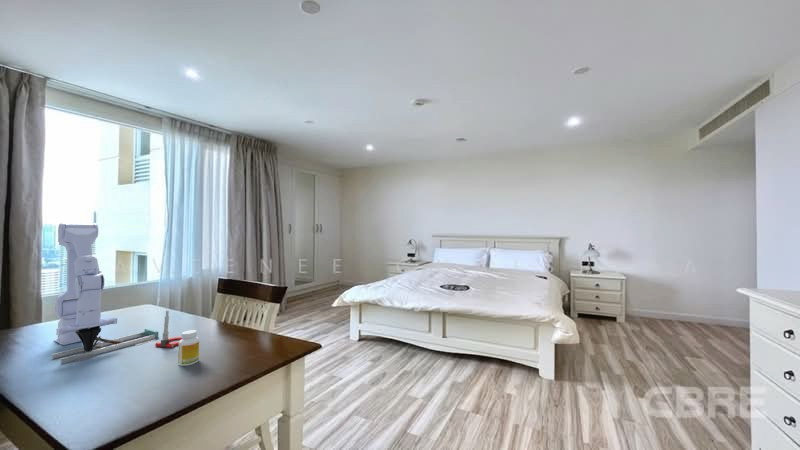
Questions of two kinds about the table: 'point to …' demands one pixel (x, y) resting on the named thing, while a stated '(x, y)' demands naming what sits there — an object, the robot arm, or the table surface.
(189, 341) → the supplement bottle
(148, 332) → the guide rail
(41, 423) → the table surface
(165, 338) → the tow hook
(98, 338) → the wooden post with brackets
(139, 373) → the table surface
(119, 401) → the table surface
